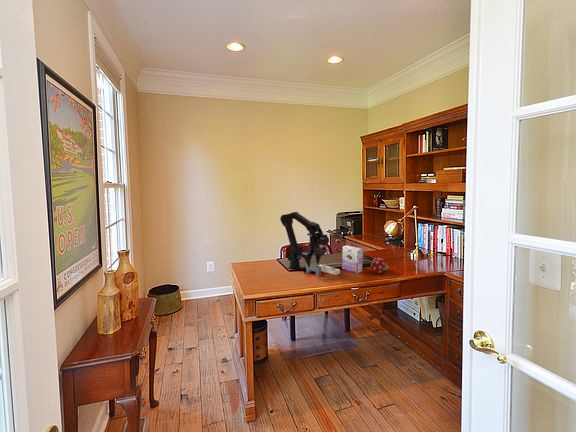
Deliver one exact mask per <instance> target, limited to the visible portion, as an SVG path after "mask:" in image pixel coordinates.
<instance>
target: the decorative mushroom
mask: <svg viewBox="0 0 576 432" xmlns="http://www.w3.org/2000/svg"><path fill="white" fill-rule="evenodd" d="M388 268H389V266H388V264H386V261H385V259H383V258H382V257H379V256H378V257H374V258H373V259H372V261H371V263H370V269H371V271H372V272H373V273H374V274H382V273H383V272H384V271H387V270H388Z"/></svg>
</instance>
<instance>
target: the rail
mask: <svg viewBox="0 0 576 432" xmlns="http://www.w3.org/2000/svg"><path fill="white" fill-rule="evenodd" d="M317 266H320V267H321V273H325V274H329V275H333V276H339V275H340V274H341V269H339V268H336V267H332V266H328V265H325V264H318V265H317ZM324 267H325V268H324Z"/></svg>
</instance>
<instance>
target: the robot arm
mask: <svg viewBox="0 0 576 432" xmlns="http://www.w3.org/2000/svg"><path fill="white" fill-rule="evenodd" d="M279 220H280V222H281V224H282V225H283V226H284V228H285V231H286V234H287V238H288V242H289V246H290V250H289V253H290V255H288V256H287V260H288V261H289V266H288V269H290V270H293V271H297V270H299V269H301V266H300V263H301V262H300V260H301V259H302V258H303V259H304V261H305V262H306V263H305V264H307V265H308V267H310V264H311V260H312V259H313V255H314V256H315V260H316V264H318V265H319V263H320V260H321V258H322V256H325V254H326V253H327V247H326V246H328V245H329V243H330V237H329V236H328V234H324V232H323V230H322V228H321V226H320V224H319V223H317V222H314V221H311V220H310V219H307V218H306V217H305V216H303V215H301V214H300V213H299V212H298V211H292V212H291V213H286V214H281V216H280V219H279ZM293 220H295V221H297V222H298V223H300V224H301V225H302V226H304V227H305V228H306V230H307V234H306V235H307V236H309V243H308V245H307V246H308V247H309V249H308V250H307V251H303V248H302V246H300V245H298V242H297V238H296V233H295V232H294V227H293V223H294V221H293ZM321 245H322V246H324V247H321Z"/></svg>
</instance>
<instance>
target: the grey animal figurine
mask: <svg viewBox="0 0 576 432" xmlns="http://www.w3.org/2000/svg"><path fill="white" fill-rule="evenodd" d="M305 270H306V271H305V272H306V273H307V274H311V273H312V272H315V276H316V277H320V276H321V274H322V272H321V267H320V266H318V265H316V264H312V263H310V267H308V265H307V263H305Z"/></svg>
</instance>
